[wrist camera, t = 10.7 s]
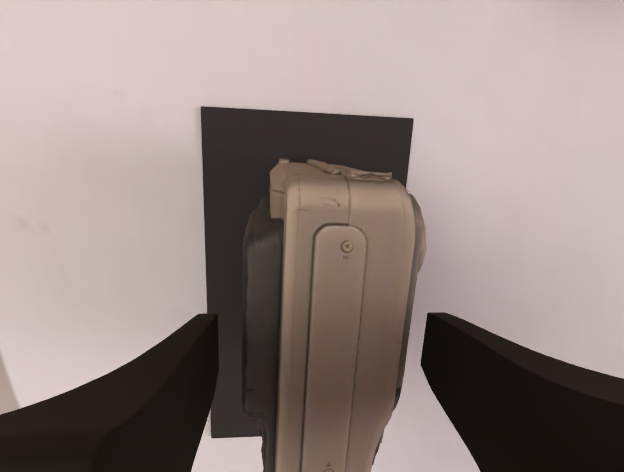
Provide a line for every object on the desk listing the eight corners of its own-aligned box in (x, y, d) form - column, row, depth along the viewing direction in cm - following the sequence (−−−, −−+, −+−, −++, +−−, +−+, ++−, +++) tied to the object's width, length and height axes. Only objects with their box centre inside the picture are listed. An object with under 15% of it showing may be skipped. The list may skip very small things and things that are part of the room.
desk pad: (378, 429, 24) (379, 431, 23) (211, 435, 22) (211, 438, 22) (412, 118, 19) (413, 118, 19) (201, 106, 18) (200, 106, 17)
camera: (342, 350, 22) (396, 515, 12) (248, 348, 21) (225, 521, 11) (366, 162, 19) (460, 179, 9) (258, 152, 18) (238, 160, 9)
